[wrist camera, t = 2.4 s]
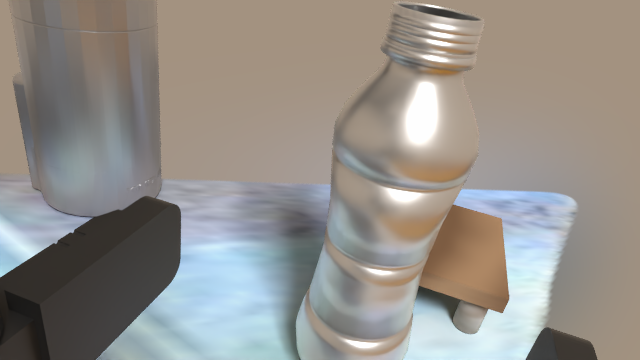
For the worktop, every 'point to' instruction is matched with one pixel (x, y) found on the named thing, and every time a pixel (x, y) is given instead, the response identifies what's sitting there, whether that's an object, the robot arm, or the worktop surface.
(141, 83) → the robot arm
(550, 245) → the worktop surface
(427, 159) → the plastic bottle
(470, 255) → the pegged shelf
